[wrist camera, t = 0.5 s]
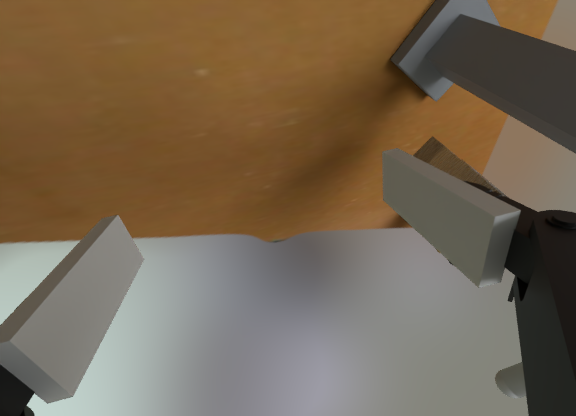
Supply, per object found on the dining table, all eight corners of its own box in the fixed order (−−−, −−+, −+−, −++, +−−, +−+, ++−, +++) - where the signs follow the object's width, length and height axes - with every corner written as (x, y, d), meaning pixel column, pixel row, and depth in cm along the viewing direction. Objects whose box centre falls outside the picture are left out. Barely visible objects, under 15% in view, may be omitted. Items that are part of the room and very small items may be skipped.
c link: (409, 159, 22) (663, 415, 11) (432, 136, 21) (746, 397, 10) (450, 183, 27) (658, 382, 15) (470, 166, 26) (714, 367, 14)
